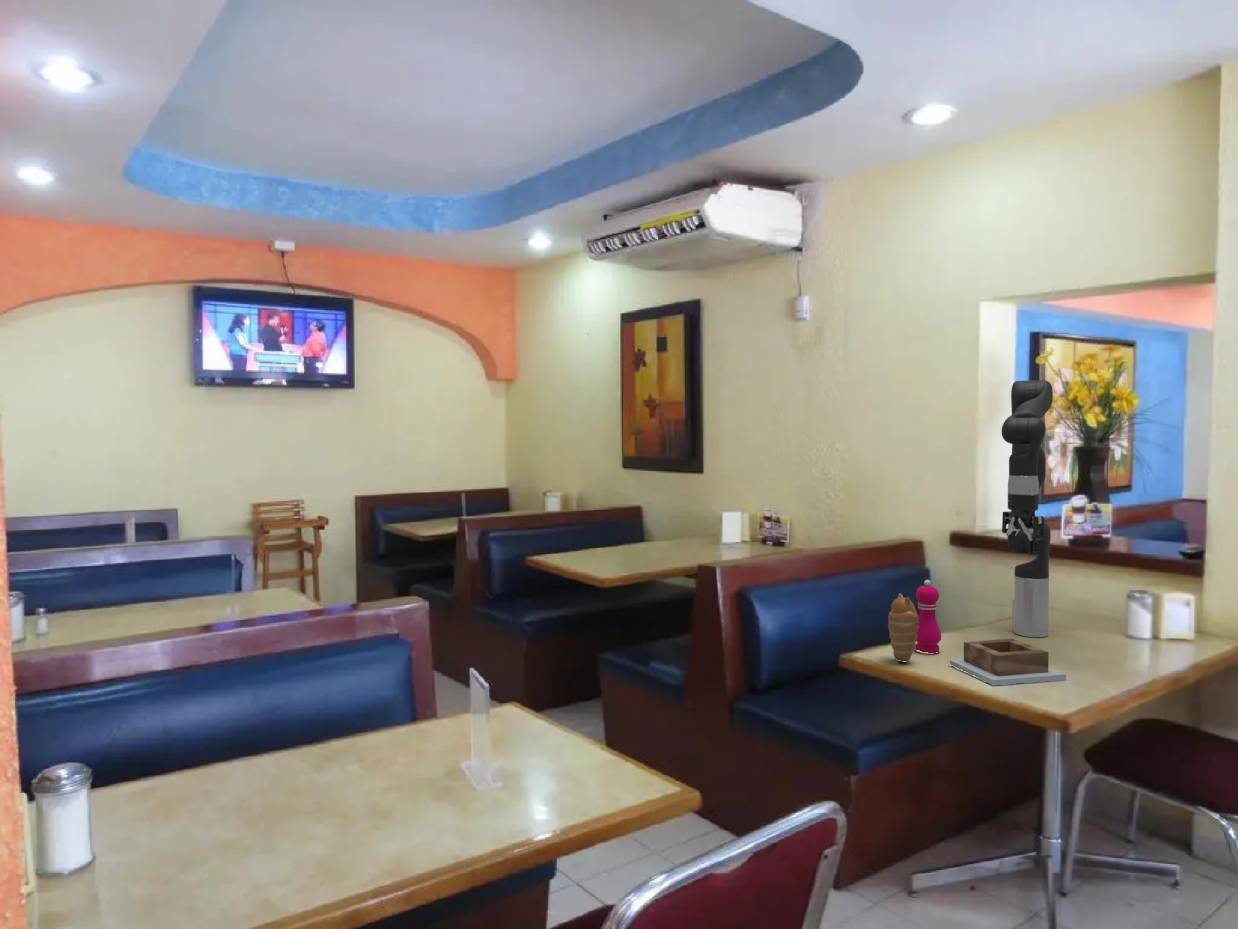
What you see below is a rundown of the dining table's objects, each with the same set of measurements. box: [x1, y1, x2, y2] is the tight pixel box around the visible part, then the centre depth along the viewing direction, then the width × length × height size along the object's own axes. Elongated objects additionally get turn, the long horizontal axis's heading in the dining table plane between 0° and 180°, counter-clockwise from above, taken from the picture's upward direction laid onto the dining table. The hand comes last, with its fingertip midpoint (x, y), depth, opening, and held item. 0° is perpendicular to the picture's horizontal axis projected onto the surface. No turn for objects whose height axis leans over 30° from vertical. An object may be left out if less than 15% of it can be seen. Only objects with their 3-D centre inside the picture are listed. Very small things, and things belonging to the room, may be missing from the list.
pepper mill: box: [914, 579, 942, 653], centre depth 239 cm, size 7×7×20 cm
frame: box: [963, 638, 1050, 676], centre depth 219 cm, size 14×14×5 cm
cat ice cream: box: [887, 592, 919, 662], centre depth 229 cm, size 9×8×18 cm
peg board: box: [949, 658, 1067, 687], centre depth 219 cm, size 18×20×4 cm
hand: (1022, 552), depth 233 cm, fingers open, 8 cm apart
